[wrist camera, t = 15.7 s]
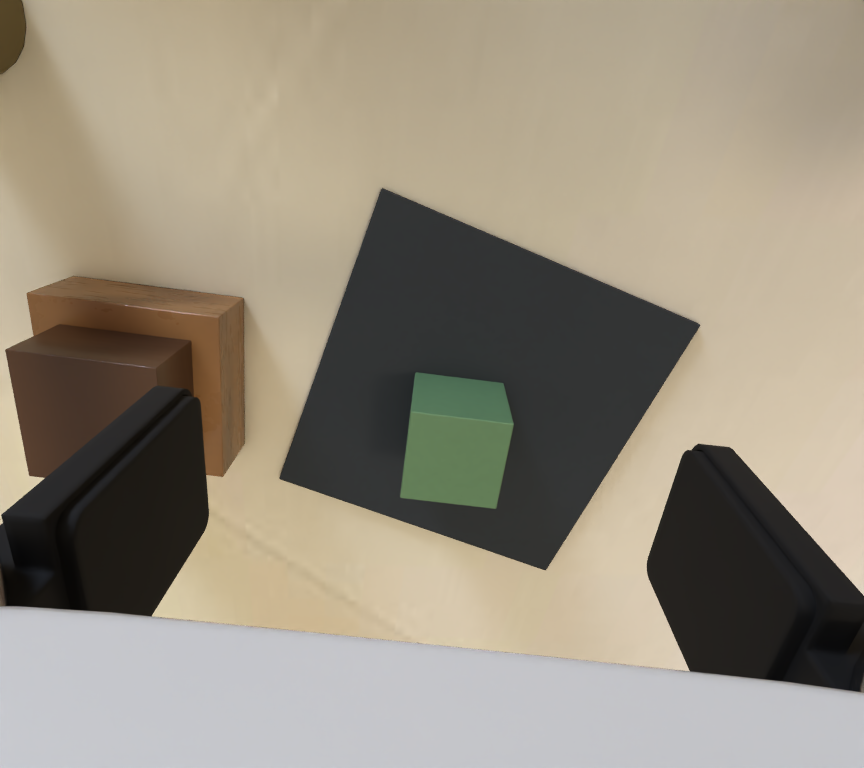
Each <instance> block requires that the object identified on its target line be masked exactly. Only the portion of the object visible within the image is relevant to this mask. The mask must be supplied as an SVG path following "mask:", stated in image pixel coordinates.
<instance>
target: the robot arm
mask: <svg viewBox="0 0 864 768" xmlns="http://www.w3.org/2000/svg"><path fill="white" fill-rule="evenodd" d="M1 516H2V519H3V524H1V525H0V768H864V596H863V594H862V593H861V592H860V591H859V590H858V589H857V588H856V587H855V586H854V584H853V583H852V582H851V581H850V580H849V579H848V578H847V577H846V575H845V574H844V573H843V572H842V571H841V570H840V569H839V568H838V567H837V565H836V564H835V563H834V562H833V561H832V560H831V559H830V558H829V556H828V555H827V554H826V553H825V552H824V551H823V550H822V549H821V548H820V546H819V545H818V544H817V543H816V542H815V541H814V540H813V539H812V537H811V536H810V535H809V534H808V533H807V532H806V531H805V530H804V529H803V527H802V526H801V525H800V524H799V523H798V522H797V521H796V520H795V518H794V517H793V516H792V515H791V514H790V513H789V512H788V511H787V510H786V508H785V507H784V506H783V505H782V504H781V503H780V502H779V501H778V499H777V498H776V497H775V496H774V495H773V494H772V493H771V492H770V491H769V489H768V488H767V487H766V486H765V485H764V484H763V483H762V482H761V480H760V479H759V478H758V477H757V476H756V475H755V474H754V473H753V472H752V470H751V469H750V468H749V467H748V466H747V465H746V464H745V463H744V461H743V460H742V459H741V458H740V457H739V456H738V455H737V454H736V453H735V451H734V450H733V449H731V448H730V447H722V446H713V445H704V444H698V445H696V446H695V447H694V448H693V449H692V451H691V450H687V451H685V452H684V454H683V456H682V458H681V461H680V464H679V467H678V470H677V473H676V476H675V479H674V482H673V485H672V488H671V491H670V494H669V497H668V500H667V503H666V506H665V509H664V512H663V515H662V518H661V521H660V524H659V527H658V530H657V533H656V536H655V539H654V542H653V545H652V548H651V550H650V553H649V556H648V560H647V573H648V577H649V580H650V582H651V585H652V587H653V589H654V591H655V594H656V596H657V598H658V600H659V603H660V605H661V607H662V609H663V612H664V614H665V616H666V618H667V621H668V623H669V625H670V627H671V630H672V632H673V634H674V636H675V639H676V641H677V643H678V645H679V648H680V650H681V652H682V654H683V657H684V659H685V661H686V663H687V666H688V668H689V670H690V671H681V670H672V669H663V668H653V667H644V666H635V665H626V664H616V663H607V662H597V661H587V660H577V659H568V658H558V657H548V656H538V655H528V654H519V653H509V652H499V651H489V650H480V649H470V648H460V647H450V646H441V645H431V644H421V643H411V642H402V641H392V640H382V639H373V638H363V637H353V636H344V635H334V634H324V633H315V632H305V631H295V630H286V629H275V628H265V627H255V626H244V625H234V624H224V623H214V622H203V621H193V620H183V619H173V618H162V617H152V614H153V613H154V611H155V609H156V608H157V606H158V605H159V603H160V601H161V600H162V598H163V597H164V595H165V593H166V592H167V590H168V589H169V587H170V585H171V584H172V582H173V581H174V579H175V578H176V576H177V574H178V573H179V571H180V570H181V568H182V566H183V565H184V563H185V562H186V560H187V558H188V557H189V555H190V554H191V552H192V550H193V549H194V547H195V546H196V544H197V542H198V541H199V539H200V538H201V536H202V534H203V533H204V531H205V529H206V526H207V522H208V517H209V508H208V494H207V481H206V467H205V454H204V440H203V427H202V413H201V403H200V400H199V399H198V398H197V397H192V394H191V392H190V391H189V390H188V389H184V388H175V387H165V386H155V387H153V388H152V389H151V390H149V391H148V392H147V393H146V394H145V395H144V396H142V397H141V398H140V399H139V400H138V401H136V402H135V403H134V404H133V405H132V406H130V407H129V408H128V409H127V410H126V411H124V412H123V413H122V414H121V415H120V416H119V417H117V418H116V419H115V420H114V421H113V422H111V423H110V424H109V425H108V426H107V427H105V428H104V429H103V430H102V431H101V432H99V433H98V434H97V435H96V436H95V437H94V438H92V439H91V440H90V441H89V442H88V443H86V444H85V445H84V446H83V447H82V448H80V449H79V450H78V451H77V452H76V453H75V454H73V455H72V456H71V457H70V458H69V459H67V460H66V461H65V462H64V463H63V464H61V465H60V466H59V467H58V468H57V469H55V470H54V471H53V472H52V473H51V474H50V475H48V476H47V477H46V478H45V479H44V480H42V481H41V482H40V483H39V484H38V485H36V486H35V487H34V488H33V489H32V490H31V491H29V492H28V493H27V494H26V495H25V496H23V497H22V498H21V499H20V500H19V501H17V502H16V503H15V504H14V505H13V506H11V507H10V508H9V509H8V510H7V511H6V512H4V513H3V514H2V515H1Z"/></svg>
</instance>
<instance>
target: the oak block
mask: <svg viewBox="0 0 864 768" xmlns="http://www.w3.org/2000/svg"><path fill="white" fill-rule="evenodd" d="M27 299H28V305H29V311H30V317H31V323H32V329H33V335H34V336H35V335H37V334H39V333H41V332H44V331H46V330H48V329H50V328H52V327H54V326H56V325H58V324H62V325H70V326H78V327H86V328H94V329H102V330H110V331H118V332H126V333H134V334H142V335H150V336H158V337H166V338H174V339H182V340H190V341H191V347H192V368H193V389H194V397H197V398H198V399H199V400H200V403H201V413H202V427H203V440H204V454H205V467H206V475H212V476H221V477H223V476H224V474H225V473H226V471H227V470H228V468H229V467H230V465H231V464H232V462H233V461H234V459H235V458H236V456H237V455H238V453H239V452H240V450H241V449H242V447H243V446H244V444H245V425H244V303H243V298H240V297H232V296H224V295H216V294H209V293H201V292H193V291H185V290H177V289H169V288H162V287H154V286H146V285H138V284H130V283H123V282H115V281H107V280H99V279H91V278H83V277H76V276H72V277H69V278H67V279H64V280H61V281H58V282H55V283H53V284H50V285H47V286H44V287H42V288H39V289H36V290H33V291H31V292H28V293H27Z"/></svg>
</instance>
